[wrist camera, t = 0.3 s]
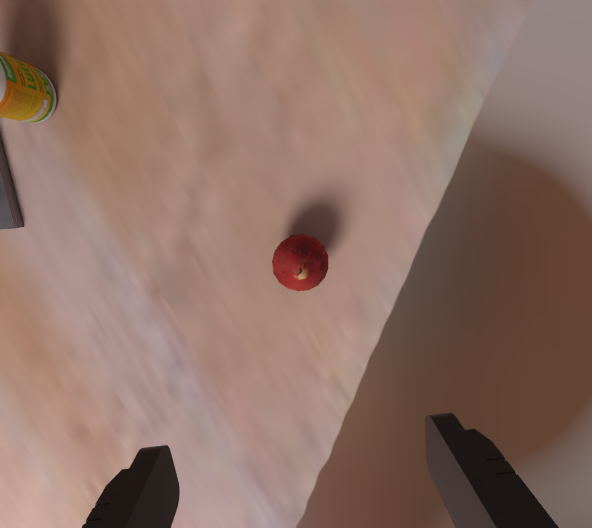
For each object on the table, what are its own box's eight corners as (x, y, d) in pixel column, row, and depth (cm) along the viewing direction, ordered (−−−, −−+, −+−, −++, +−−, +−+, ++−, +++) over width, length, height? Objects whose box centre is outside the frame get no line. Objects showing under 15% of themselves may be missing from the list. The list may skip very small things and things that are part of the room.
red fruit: (281, 223, 37) (280, 235, 29) (330, 237, 38) (342, 252, 30) (268, 271, 38) (263, 295, 31) (315, 284, 39) (322, 310, 31)
